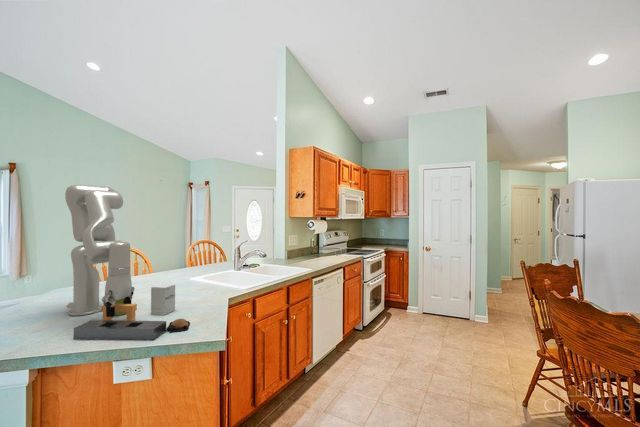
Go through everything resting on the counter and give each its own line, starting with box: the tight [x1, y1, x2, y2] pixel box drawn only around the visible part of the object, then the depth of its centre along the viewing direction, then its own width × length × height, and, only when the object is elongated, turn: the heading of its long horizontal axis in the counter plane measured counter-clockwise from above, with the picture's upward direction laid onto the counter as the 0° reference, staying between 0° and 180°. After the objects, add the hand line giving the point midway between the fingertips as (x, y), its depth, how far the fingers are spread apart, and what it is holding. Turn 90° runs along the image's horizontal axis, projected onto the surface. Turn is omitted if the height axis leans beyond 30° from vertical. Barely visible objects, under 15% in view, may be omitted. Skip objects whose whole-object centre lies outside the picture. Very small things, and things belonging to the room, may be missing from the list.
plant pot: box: [110, 298, 127, 316], centre depth 134 cm, size 9×9×9 cm
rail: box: [73, 319, 167, 341], centre depth 109 cm, size 30×8×4 cm, turn 88°
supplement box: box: [150, 283, 176, 316], centre depth 135 cm, size 7×7×13 cm
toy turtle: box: [166, 318, 191, 334], centre depth 117 cm, size 11×8×4 cm
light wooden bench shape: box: [101, 303, 138, 321], centre depth 120 cm, size 13×3×8 cm, turn 88°
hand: (119, 312), depth 120 cm, fingers open, 9 cm apart
